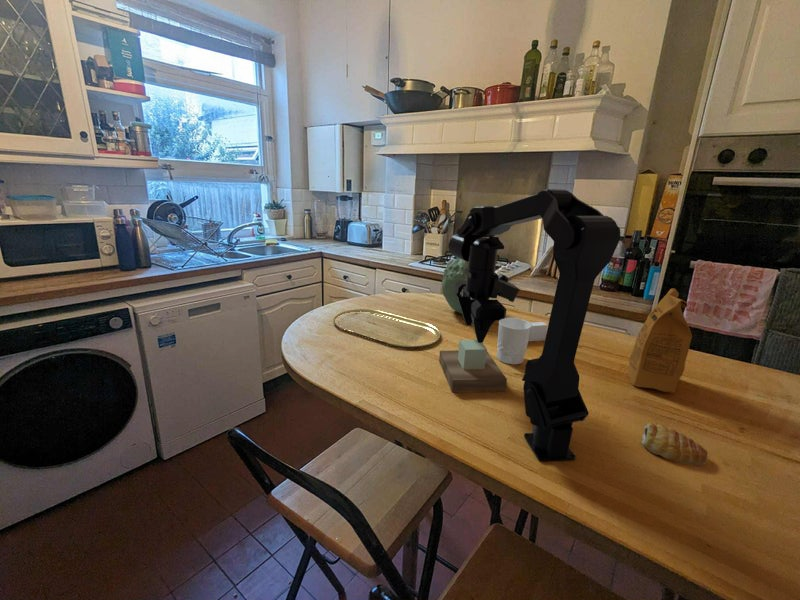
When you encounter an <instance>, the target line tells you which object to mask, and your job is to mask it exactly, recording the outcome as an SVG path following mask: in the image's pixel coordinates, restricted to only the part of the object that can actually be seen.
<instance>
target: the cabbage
mask: <svg viewBox="0 0 800 600" xmlns="http://www.w3.org/2000/svg"><path fill="white" fill-rule="evenodd" d="M446 265H447V267H445V268H444V269H443V273H442V274H443V275H442V281H441V290H442V294H443V297H444V298H445V301H446V302H447V303H448V305H449V307H450V308H451V309H452V310H454V312H456V313H460V314H462V311H461V308H460V305H459V302H458V299H457V296H456V292H455V284H456V283H457V282H458V281H459V280H467V275H466V274H465V269H468V262H467V261H465V260H462V259H460V258H458V257H456V258H452V259H449V260H448V261H447V264H446ZM488 300H490V298H489V299H488Z"/></svg>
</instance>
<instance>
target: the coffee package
mask: <svg viewBox="0 0 800 600" xmlns="http://www.w3.org/2000/svg"><path fill="white" fill-rule="evenodd" d="M679 295H680V293H679V292H678V291H677V289H676V288H670V289H669V290H668V291H667V293H666V295H664V296H663V298H661V299H660V300H659V302H658V303H657V304H656V305H655V307H653V309H652V310H651V311H650V313H649V314H648V316H647V319H646V320H645V321H644V323H643V325H642V327H641V329H640V330H639V332H638V334H637V336H636V339H635V342H634V344H633V349H632V352H631V354H630V357H629V362H628V365H627V377H628V378H629V380H630V383H631V384H632V386H634V387H636V388H637V387H638V388H645V389H646V388H647V389H654V390H656V391H660V392H663V393H664V392H665V393H673V394H674V393H675V392H676V388H677V385H678V382H679V380H680V379H681V378H682V376H683V374H684V372H685V367H686V361H687V357H688V353H689V349H690V345H691V341H692V338H693V335H692V331H691V329H690V327H689V323H688V321H686V318H685V316H684V313H683V310H682V308H683V309H684V308H687V307H688V303H687V301H685V300H683V299H680V298H678V297H679Z"/></svg>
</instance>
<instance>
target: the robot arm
mask: <svg viewBox="0 0 800 600" xmlns="http://www.w3.org/2000/svg"><path fill="white" fill-rule="evenodd" d="M541 219H542V225H543V226H542V227H543V230H544V231H545V233H546V234H547V235H548V236H549V237H550V239H551V240H552V241H553V249H552V250H553V251H552V256H553V259H554V262H555V264H556V268H557V270H558V279H557V283H556V288H555V293H554V297H553V300H552V301H553V302H552V307H551V312H550V315H549V320H548V323H547V325H548V326H547V332H546V337H545V340H544V343H543V348H542V352H541V355H540V356H539V357H537V358H531V359H528V360H527V361H526V363H525V369H524V370H525V371H524V374H523V376H522V378H521V382H523V399H524V409H525V415H526V417H528V418H529V420H530V424H531V425H532V426H533V427H532V432H529V433H528V432H527V433H524V434H523V438H524V439H525V440H526V443H527V444H528V446H529V447H530V449H531V450H532V453H534V456H535V457H536V458H537V460H538V461H540V462H552V461H553V462H554V461H555V462H556V461H558V462H559V461H574V460H575V459H576V455H575V454H574V452H573V451H572V450H571V448H570V444H571V441H572V435H573V432H574V428H573V424H574V423H576V422H584V421H585V420H586V418H587V417H588V416H589V410H588V408H587V406H586V403H585V401H584V398H583V396H582V394H581V392H580V389H579V387H580V375H579V371H578V368H577V367H576V363H575V358H576V355H577V351H578V348H579V347H578V346H579V342H580V339H581V336H582V331H583V328H584V323H585V320H586V315H587V312H588V307H589V303H590V299H591V296H592V292H593V288H594V284H595V280H596V279H597V278H598V276H599V275H600V274H601V273H602V272H603V271H604V269H605V267H607V265H608V264H609V263H610V262H611V260H612V258H613V256H614V254H615V252H616V250H617V247H618V245H619V242H620V240H621V228H620V227H619V226H618V224H617V222H616V221H615V220H614V219H613V218H612V217H610V216H608V215H604V214H603V212H600V211H599V210H598V209H596V208H595V207H593V206H591V205H590V204H587V203H586V202H584V201H582V200H580V199H579V198H577V197H576V196H575V195H574V194H573V193H572V192H570V191H569V190H567V189H557V188H556V189H553V188H546V189H545V188H544V189H543V190H541V191H539V192H538V193H534V194H531V195H529V196H526V197H522V198H519V199H516V200H513V201H510V202H508V203H504V204H501V205H497V206H493V205H491V206H487V205H486V206H473V207H472V208H471V209H470V210H469V213H468V215H467V216H466V219H465V220H464V221H463V223H462V225H461V227H460V228H457V229H456V230H457V231H456V233H455V234H454V235H453V236H452V237H450V240H449V242H448V245H447V247H448V251H449V253H450V255H452V256H453V257H455V258H460V259H462V260H465V261H467V262H468V269H465V274H466V275H467V280H459V281H458V282H457V283H456V284H455V292H456V296H457V299H458V302H459V305H460V308H461V311H462V313H461V314H462V317H463V320H464V322H465V326H466V327H471V326H472V325H473V330H474V334H475V338H476V340H477V342H478V343H483V342H484V340H485V339H486V337H487V335H488V333H489V331H490V329H491V327H492V325H493V324H494V323H495V322H497V321H498V322H499V320H501V319H505V318H507V317H506V316H507V308H506V307H505V306H504V304H502V303H501V302H500V301H499V300H498V297H501V298H504V299H505V300H508V301H509V302H511V303H514V302H515V300H516V298H517V296H518V294H519V293H520V290H521V289H520V288H519V287H518V286H516V285H515V284H513V283H511V282H510V281H509V277H508V276H507V275H505V274H503V273H499V274H497V272H496V265H497V258H498V257H497V256H498V251H499V250H505V245H504V244H503V243H502V241H501V240H500V237H499V235H502V234H504V233H506V232H508V231H510V230H511V227H513V226H516V225H520V224H524V223H529V222H533V221H537V220H541ZM488 299H489V300H488Z"/></svg>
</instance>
